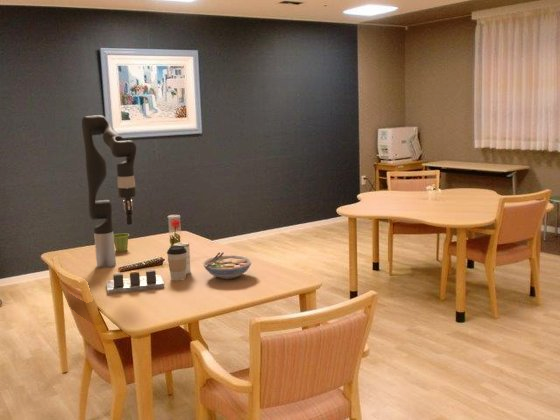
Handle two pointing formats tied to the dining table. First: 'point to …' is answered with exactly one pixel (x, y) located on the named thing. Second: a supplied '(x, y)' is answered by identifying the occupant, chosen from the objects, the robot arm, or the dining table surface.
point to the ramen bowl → (227, 265)
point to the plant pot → (121, 242)
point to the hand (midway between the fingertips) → (129, 224)
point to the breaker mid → (134, 277)
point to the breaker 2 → (150, 276)
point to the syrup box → (186, 246)
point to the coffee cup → (177, 262)
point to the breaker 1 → (118, 279)
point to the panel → (135, 287)
